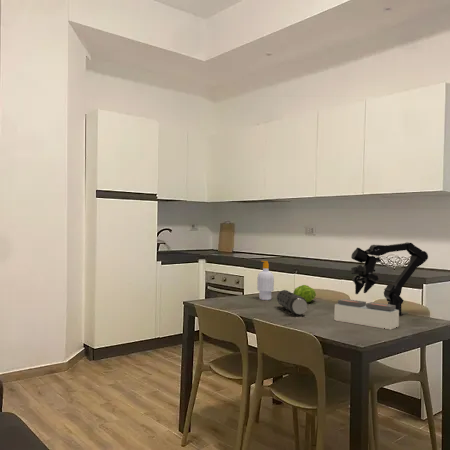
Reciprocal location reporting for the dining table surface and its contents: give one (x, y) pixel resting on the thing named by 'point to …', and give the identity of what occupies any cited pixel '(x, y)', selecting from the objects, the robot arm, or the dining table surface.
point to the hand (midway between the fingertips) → (360, 293)
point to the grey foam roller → (292, 302)
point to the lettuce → (305, 292)
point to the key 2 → (380, 306)
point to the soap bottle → (265, 282)
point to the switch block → (367, 316)
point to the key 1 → (352, 302)
